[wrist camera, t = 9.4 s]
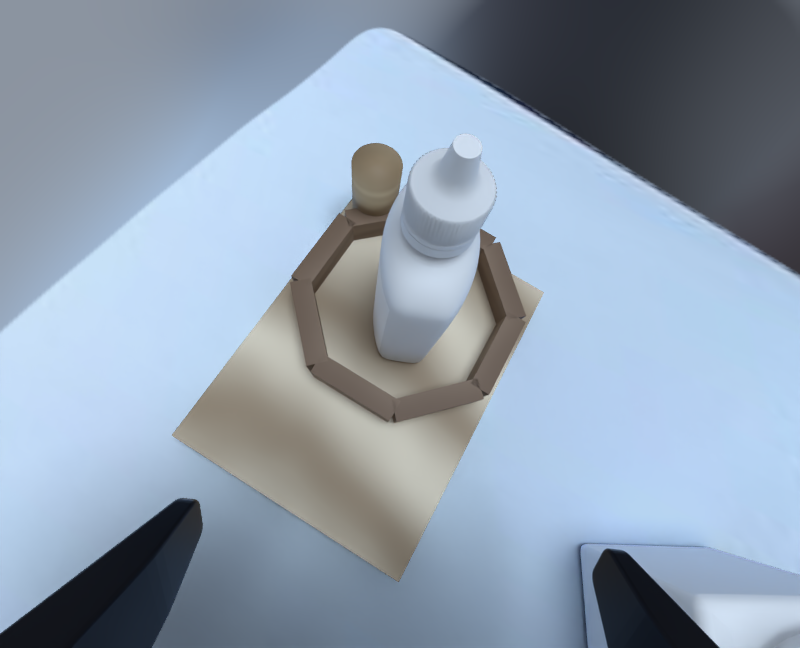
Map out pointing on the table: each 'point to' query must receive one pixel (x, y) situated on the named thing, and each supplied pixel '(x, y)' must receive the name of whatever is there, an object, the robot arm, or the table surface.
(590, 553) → the medicine bottle
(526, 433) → the table surface
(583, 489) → the table surface
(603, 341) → the table surface
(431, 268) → the eye dropper bottle
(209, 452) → the board
